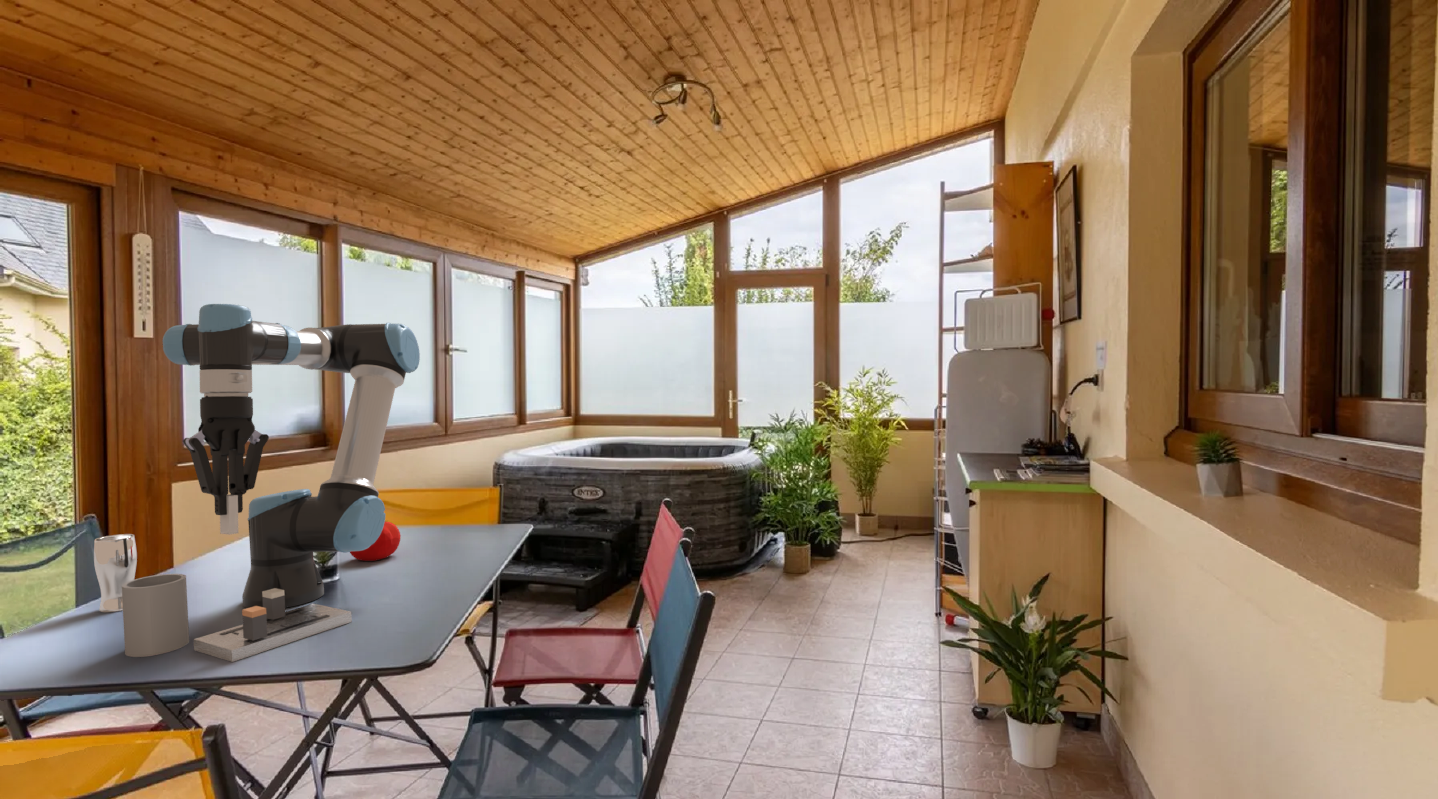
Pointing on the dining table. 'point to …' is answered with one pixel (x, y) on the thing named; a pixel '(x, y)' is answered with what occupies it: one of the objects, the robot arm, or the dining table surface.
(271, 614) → the fader far
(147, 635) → the cup
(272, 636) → the console
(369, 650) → the dining table surface
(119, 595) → the beer glass
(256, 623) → the fader near
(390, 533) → the tomato
